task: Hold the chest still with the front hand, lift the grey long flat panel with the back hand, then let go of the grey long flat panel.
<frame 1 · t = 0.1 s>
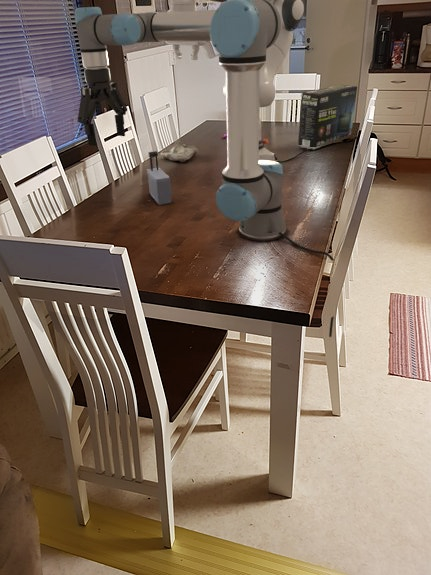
front hand: (107, 140, 148), 28 cm above the table, tool pointing down, fingers open, 13 cm apart
back hand: (186, 59, 165), 48 cm above the table, tool pointing down, fingers open, 8 cm apart
fossil: (178, 158, 230), on the table
router box: (325, 143, 245), on the table
grey long flat panel: (157, 165, 174), point 13 cm above the table, hinge at 0.0°
handgun: (233, 140, 257), on the table
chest: (160, 198, 181), on the table
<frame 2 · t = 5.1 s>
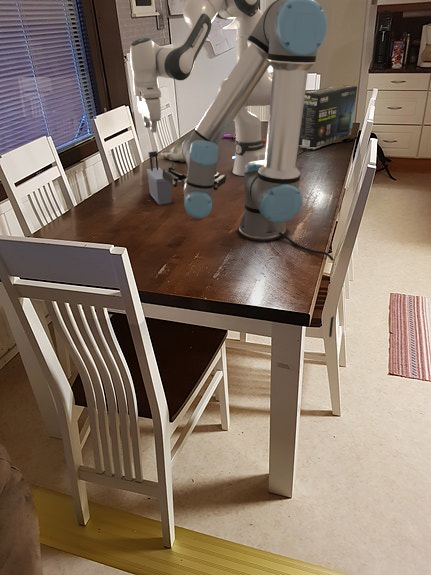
front hand: (193, 169, 153), 17 cm above the table, tool horizontal, fingers open, 13 cm apart
back hand: (150, 129, 172), 25 cm above the table, tool pointing down, fingers open, 8 cm apart
nothing on the table moved.
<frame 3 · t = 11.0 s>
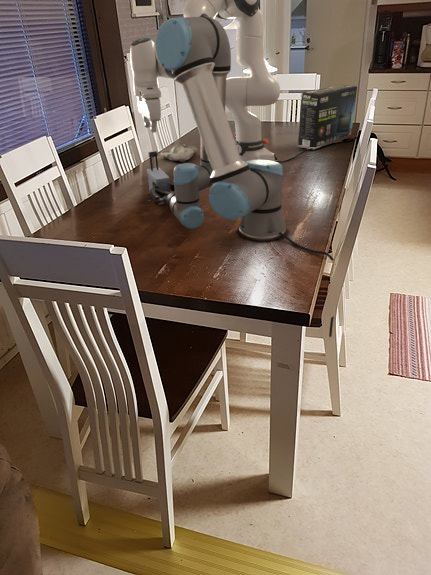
front hand: (161, 184, 175), 7 cm above the table, tool horizontal, fingers closed on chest, 5 cm apart
back hand: (150, 129, 172), 25 cm above the table, tool pointing down, fingers open, 8 cm apart
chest: (160, 198, 181), on the table, touching front hand
everything else where it was.
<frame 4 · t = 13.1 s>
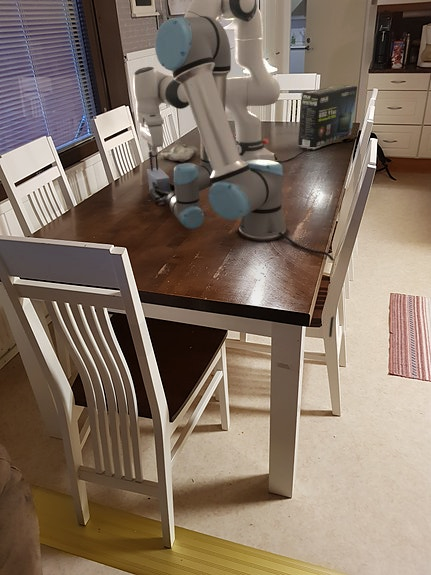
front hand: (161, 184, 175), 7 cm above the table, tool horizontal, fingers closed on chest, 5 cm apart
back hand: (153, 153, 176), 16 cm above the table, tool pointing down, fingers closed on grey long flat panel, 2 cm apart
grey long flat panel: (157, 165, 174), point 13 cm above the table, hinge at -0.1°, touching back hand
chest: (160, 198, 181), on the table, touching front hand
everything else where it was.
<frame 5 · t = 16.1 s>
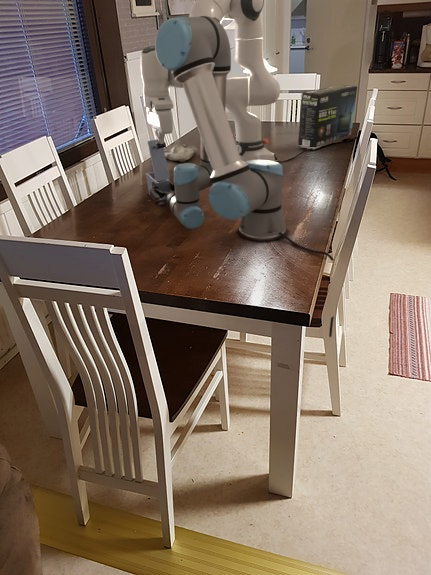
front hand: (160, 184, 175), 7 cm above the table, tool horizontal, fingers closed on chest, 5 cm apart
back hand: (160, 142, 160), 24 cm above the table, tool pointing down, fingers closed, pressing on grey long flat panel
grey long flat panel: (161, 159, 165), point 17 cm above the table, hinge at 72.4°, touching back hand
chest: (160, 198, 181), on the table, touching front hand
everything else where it was.
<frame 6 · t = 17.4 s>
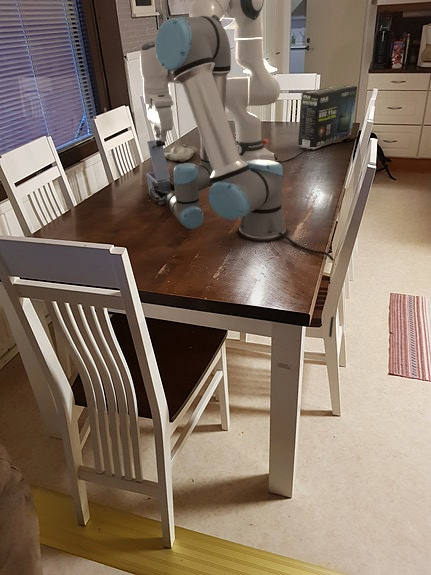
front hand: (161, 184, 175), 7 cm above the table, tool horizontal, fingers closed on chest, 5 cm apart
back hand: (161, 139, 161), 25 cm above the table, tool pointing down, fingers open, 5 cm apart
grey long flat panel: (160, 158, 166), point 17 cm above the table, hinge at 65.3°
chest: (160, 198, 181), on the table, touching front hand
everything else where it was.
when the front hand's fingers open (7 cm above the table, at t = 19.9 s): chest stays where it is, on the table.
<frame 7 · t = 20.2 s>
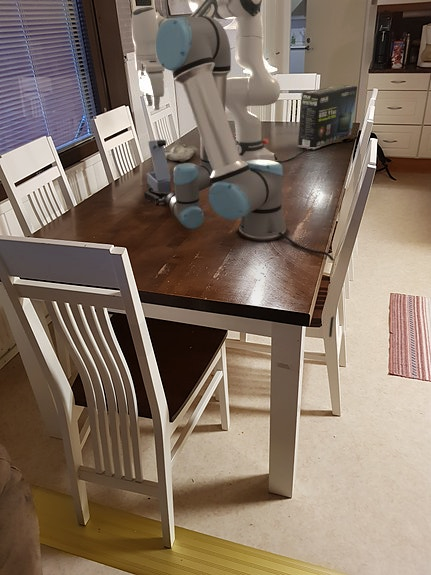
front hand: (161, 185, 174), 7 cm above the table, tool horizontal, fingers open, 10 cm apart
back hand: (153, 107, 161), 34 cm above the table, tool pointing down, fingers open, 8 cm apart
grey long flat panel: (161, 158, 166), point 17 cm above the table, hinge at 64.8°
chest: (160, 198, 181), on the table
everything else where it was.
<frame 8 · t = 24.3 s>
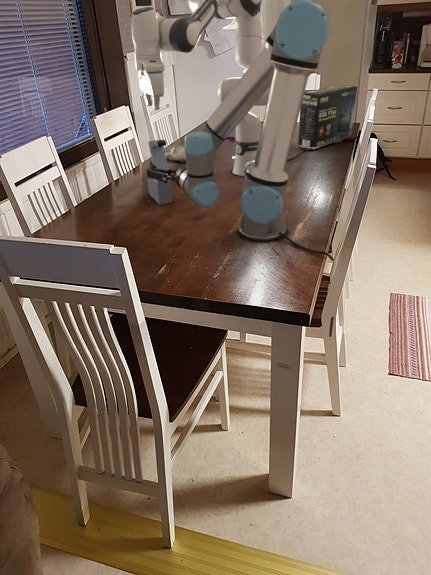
front hand: (170, 163, 156), 19 cm above the table, tool horizontal, fingers open, 13 cm apart
back hand: (153, 107, 161), 34 cm above the table, tool pointing down, fingers open, 8 cm apart
nothing on the table moved.
at the end: grey long flat panel at +65° (first picture: +0°); the front hand is holding nothing; the back hand is holding nothing; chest tilted 0°; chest never tilted more than 2° during the clip; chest moved 0.1 cm from its start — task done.
